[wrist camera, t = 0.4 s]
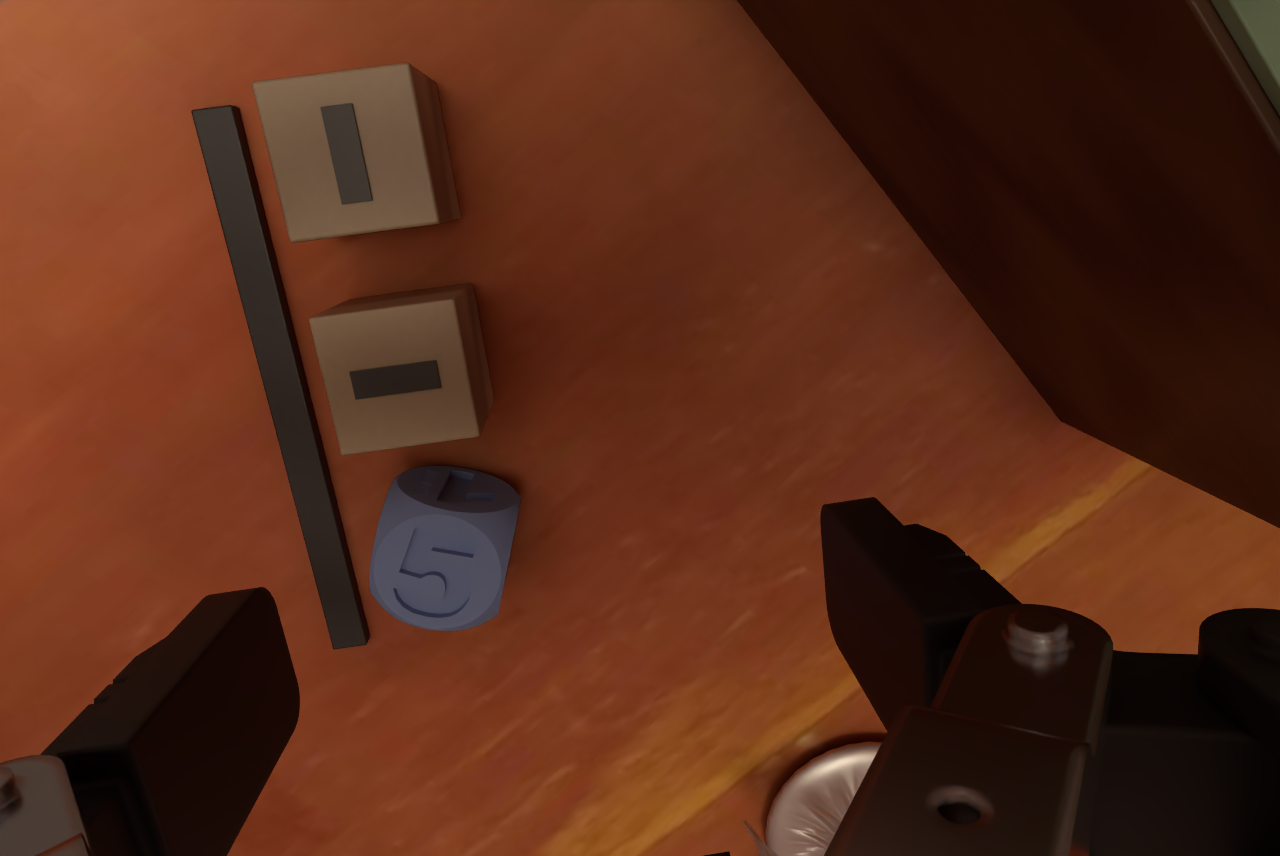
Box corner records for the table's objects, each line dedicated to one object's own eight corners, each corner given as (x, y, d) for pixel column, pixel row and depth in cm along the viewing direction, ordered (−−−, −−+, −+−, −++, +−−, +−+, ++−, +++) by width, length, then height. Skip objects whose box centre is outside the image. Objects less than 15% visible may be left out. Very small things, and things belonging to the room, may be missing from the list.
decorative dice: (525, 478, 28) (516, 524, 24) (504, 582, 29) (492, 641, 25) (408, 456, 28) (379, 499, 24) (391, 562, 29) (361, 620, 25)
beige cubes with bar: (197, 111, 24) (122, 96, 20) (436, 81, 24) (408, 60, 21) (337, 642, 29) (298, 712, 25) (533, 614, 30) (525, 679, 26)
